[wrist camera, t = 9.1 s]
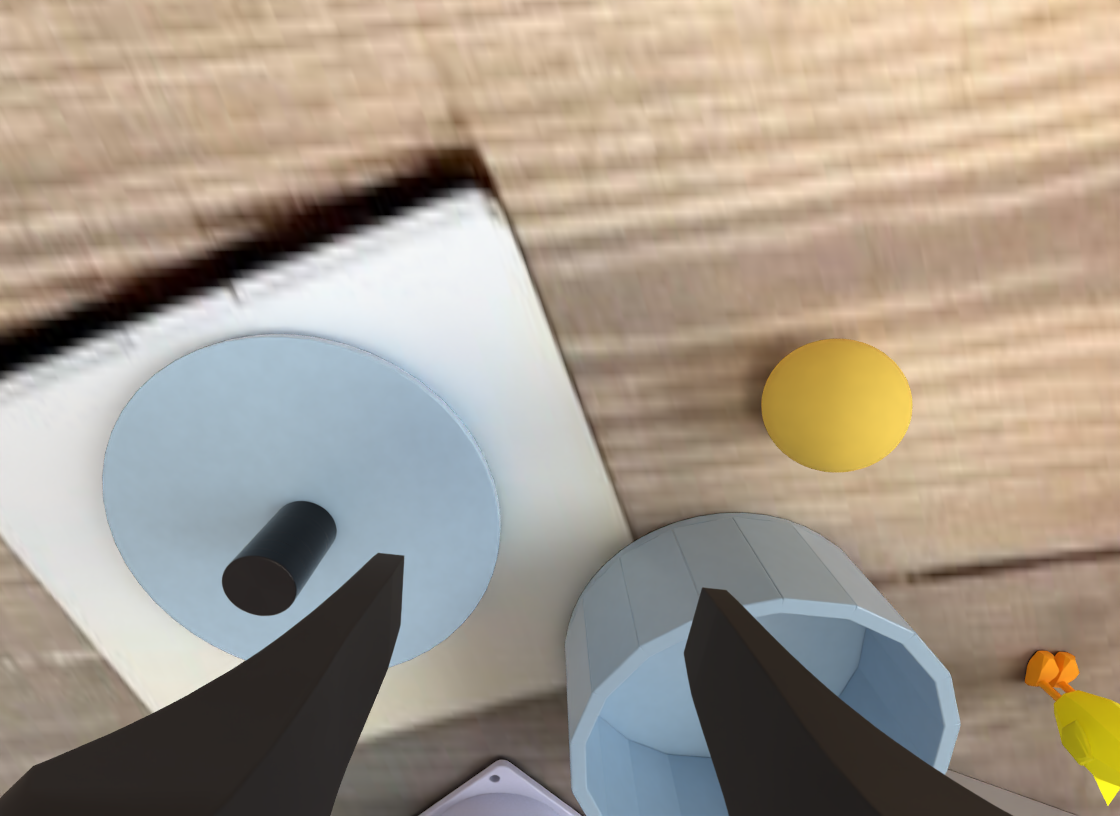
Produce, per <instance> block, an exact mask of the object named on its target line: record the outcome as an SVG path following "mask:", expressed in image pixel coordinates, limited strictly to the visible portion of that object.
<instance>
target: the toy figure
mask: <svg viewBox="0 0 1120 816" xmlns="http://www.w3.org/2000/svg"><path fill="white" fill-rule="evenodd" d="M1078 674H1079V670H1078V667H1077V664H1076V661H1075V656H1073V655H1072V654H1070V653H1068V652H1058V653H1057V654H1056V655H1055V656H1054V655H1053V654H1051V653H1050V652H1048V651H1037V652H1036V653H1035V655H1034V656H1033V657H1032V658H1031V659H1030V660H1029V663H1028V666H1027V671H1026V677H1025V683H1026V684H1027V685H1030V686H1040V687H1041V688H1042V689H1043V690H1044V691H1045V692H1046V693H1048V694H1049V695H1050V696H1051V697H1052V698H1053V699H1054V700H1055V701H1056V702H1055V703H1054V714H1055V718H1056V722H1057V726H1058V729H1059V733H1060V737H1061V741H1062V744H1063V746H1064V747H1065V748H1066V749H1067V750H1068V752H1069V753H1070V754H1071V755H1072V756H1073V758H1074V759H1075V760H1076V761H1077V762H1078V764H1080V765H1082V766H1083V765H1084V766H1085V767H1086V768H1087V769H1088V770H1089V771H1090V772H1091V773H1092V774H1093V776H1094V778H1095V780H1096V782H1097V784H1098V786H1099V788H1100V790H1101V793H1102V795H1103V797H1104V799H1105V801H1106V803H1107V805H1109V804H1110V802H1111V801H1112V799H1113V798H1114V796H1115V795H1116V794H1117V792H1118V791H1119V789H1120V704H1119V703H1116V702H1114V701H1112V700H1109V699H1106V698H1103V697H1099V696H1096V695H1093V694H1089V693H1086V692H1083V691H1079V690H1077V691H1075V690H1074V689H1073V688H1072V687H1071V686H1070V685H1069V684H1068V683H1069V682H1071V681H1072V680H1074V679H1075V678H1076V677H1077V676H1078ZM1053 687H1057V688H1061V689H1062V690H1064V691H1065V692H1066V693H1065V694H1063V695H1062V696H1061V695H1060V694H1059V693H1058V692H1057V691H1056V690H1055V689H1054V688H1053Z"/></svg>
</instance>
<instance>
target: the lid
mask: <svg viewBox="0 0 1120 816" xmlns="http://www.w3.org/2000/svg"><path fill="white" fill-rule="evenodd" d="M102 480H103V500H104V505H105V510H106V515H107V520H108V524H109V526H110V529H111V532H112V535H113V538H114V541H115V543H116V545H117V547H118V549H119V551H120V553H121V555H122V557H123V559H124V561H125V563H126V565H127V566H128V568H129V569H130V571H131V572H132V574H133V575H134V577H135V578H136V580H137V581H138V583H139V584H140V585H141V586H142V587H143V589H144V590H145V591H146V592H147V593H148V594H149V596H150V597H151V598H152V599H153V600H154V601H155V602H156V603H157V604H158V605H159V606H160V607H161V608H162V609H163V610H164V611H165V612H166V613H167V614H168V615H170V616H171V617H172V618H173V619H174V620H175V621H177V622H178V623H179V624H181V625H182V626H183V627H185V628H186V629H187V630H189V631H190V632H191V633H193V634H194V635H196V636H198V637H199V638H201V639H203V640H204V641H206V642H208V643H209V644H211V645H213V646H215V647H217V648H219V649H221V650H223V651H225V652H227V653H229V654H231V655H233V656H236V657H238V658H241V659H244V660H247V659H249V658H250V657H252V656H253V655H255V654H256V653H258V652H259V651H261V650H262V649H264V648H265V647H266V646H268V645H269V644H271V643H272V642H273V641H275V640H276V639H278V638H279V637H280V636H282V635H283V634H284V633H285V632H287V631H288V630H289V629H291V628H292V627H293V626H294V625H296V624H297V623H298V622H300V621H301V620H302V619H303V618H305V617H306V616H307V615H308V614H310V613H311V612H312V611H313V610H315V609H316V608H317V607H318V606H319V605H320V604H322V603H323V602H324V601H325V600H326V599H327V598H329V597H330V596H331V595H332V594H333V593H334V592H335V591H337V590H338V589H339V588H340V587H341V586H342V585H343V584H344V583H346V582H347V581H348V580H349V579H350V578H351V577H352V576H353V575H354V574H355V573H356V572H357V571H358V570H359V569H361V568H362V567H363V566H364V565H365V564H366V563H367V562H368V561H369V560H370V559H371V558H372V557H373V556H374V555H376V554H377V553H386V554H395V555H404V574H403V592H402V611H401V626H400V630H399V633H398V637H397V640H396V644H395V647H394V651H393V654H392V657H391V661H390V664H389V667H392V666H395V665H398V664H400V663H403V662H406V661H408V660H411V659H413V658H415V657H417V656H419V655H421V654H423V653H425V652H427V651H429V650H430V649H432V648H433V647H435V646H436V645H438V644H439V643H441V642H442V641H443V640H445V639H446V638H447V637H449V636H450V635H451V634H452V633H453V632H454V631H455V630H456V629H457V628H459V627H460V626H461V625H462V624H463V623H464V621H465V620H466V619H467V618H468V617H469V615H470V614H471V613H472V612H473V611H474V609H475V608H476V606H477V605H478V603H479V601H480V600H481V598H482V596H483V595H484V593H485V591H486V589H487V587H488V584H489V582H490V579H491V577H492V575H493V572H494V568H495V564H496V559H497V555H498V550H499V541H500V530H501V523H500V507H499V501H498V496H497V492H496V487H495V483H494V480H493V477H492V475H491V472H490V469H489V467H488V464H487V461H486V459H485V457H484V456H483V454H482V452H481V450H480V448H479V446H478V444H477V442H476V441H475V439H474V438H473V436H472V435H471V433H470V432H469V431H468V429H467V428H466V426H465V425H464V424H463V422H462V421H461V419H460V418H459V417H458V416H457V415H456V414H455V413H454V412H453V411H452V410H451V409H450V407H449V406H448V405H447V404H446V403H445V402H444V401H443V400H442V399H441V398H440V397H439V396H437V395H436V394H435V393H434V392H433V391H431V390H430V389H429V388H428V387H427V386H425V385H424V384H423V383H422V382H421V381H419V380H418V379H416V378H415V377H413V376H411V375H410V374H408V373H407V372H405V371H404V370H402V369H401V368H399V367H398V366H396V365H394V364H392V363H390V362H388V361H386V360H384V359H382V358H380V357H378V356H376V355H374V354H372V353H369V352H366V351H364V350H361V349H358V348H355V347H352V346H350V345H347V344H344V343H340V342H335V341H331V340H327V339H322V338H318V337H310V336H301V335H292V334H267V335H254V336H247V337H241V338H234V339H230V340H226V341H223V342H220V343H216V344H213V345H210V346H206V347H204V348H201V349H198V350H196V351H194V352H192V353H190V354H188V355H186V356H183V357H181V358H179V359H177V360H175V361H174V362H172V363H171V364H169V365H168V366H166V367H165V368H163V369H162V370H160V371H159V372H157V373H156V374H154V375H153V376H152V377H151V378H150V379H149V380H148V381H147V382H146V383H145V384H144V385H143V386H142V387H141V388H140V389H139V390H138V391H137V392H136V393H135V394H134V396H133V397H132V398H131V400H130V401H129V402H128V404H127V405H126V406H125V408H124V409H123V410H122V412H121V414H120V416H119V418H118V420H117V422H116V424H115V426H114V428H113V430H112V432H111V436H110V439H109V442H108V446H107V449H106V452H105V458H104V467H103V475H102ZM389 667H388V668H389Z"/></svg>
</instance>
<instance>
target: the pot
mask: <svg viewBox="0 0 1120 816" xmlns="http://www.w3.org/2000/svg"><path fill="white" fill-rule="evenodd" d="M702 587H704V588H713V589H722V590H727V591H728V592H729V593H730V594H731V595H732V596H733V597H734V598H735V599H736V600H737V601H738V602H739V603H740V604H741V605H742V606H743V607H744V608H745V609H746V610H747V611H748V612H749V613H750V614H751V615H752V616H753V617H754V618H755V619H756V620H757V621H758V622H759V623H760V624H761V625H762V626H763V627H764V628H765V629H766V630H767V631H768V632H769V633H770V634H771V635H772V636H773V637H774V638H775V639H776V640H777V641H778V642H779V643H780V644H781V645H782V646H783V647H784V648H785V649H786V650H787V651H788V652H789V653H790V654H791V655H792V656H793V657H794V658H795V659H797V660H798V661H799V662H800V663H801V664H802V665H803V666H804V667H805V668H806V669H807V670H808V671H809V672H811V673H812V674H813V675H814V676H815V677H816V678H817V679H818V680H819V681H821V682H822V683H823V684H824V685H825V686H826V687H827V688H828V689H830V690H831V691H832V692H833V693H834V694H835V695H837V696H838V697H839V698H840V699H841V700H843V701H844V702H845V703H846V704H847V705H849V706H850V707H851V708H852V709H854V710H855V711H856V712H858V713H859V714H860V715H861V716H863V717H864V718H865V719H866V720H868V721H869V722H870V723H871V724H873V725H874V726H875V727H877V728H878V729H879V730H881V731H882V732H883V733H885V734H886V735H887V736H889V737H890V738H892V739H893V740H894V741H896V742H897V743H899V744H900V745H902V746H903V747H904V748H906V749H907V750H909V751H910V752H912V753H913V754H914V755H916V756H917V757H919V758H920V759H922V760H923V761H924V762H926V763H927V764H929V765H931V766H932V767H934V768H935V769H937V770H938V771H940V772H941V773H943V774H944V775H945V773H946V772H947V770H948V766H949V763H950V759H951V756H952V753H953V749H954V746H955V742H956V739H957V735H958V732H959V729H960V725H961V724H960V718H959V713H958V708H957V703H956V698H955V693H954V688H953V683H952V678H951V675H950V673H949V671H948V670H947V669H946V668H945V666H944V665H943V664H942V663H941V662H940V661H939V659H938V658H937V657H936V656H935V655H934V654H933V652H932V651H931V650H930V649H929V648H928V647H927V645H926V644H925V643H924V642H923V641H922V639H921V638H920V637H919V636H918V635H917V634H916V632H915V631H914V630H913V629H912V628H911V627H910V626H909V625H908V624H907V622H906V621H905V620H904V619H903V618H902V617H901V616H900V615H899V613H898V612H897V611H896V610H895V609H894V608H893V607H892V606H891V605H890V603H889V602H888V601H887V600H886V599H885V598H884V597H883V596H882V595H881V593H880V592H879V591H878V590H877V589H876V588H875V587H874V586H873V584H872V583H871V582H870V581H869V580H868V579H867V578H866V577H865V576H864V574H863V573H862V572H861V571H860V570H859V569H858V568H857V567H856V566H855V564H854V563H853V562H852V561H851V560H850V559H849V558H848V557H847V555H846V554H845V553H844V552H843V551H842V550H841V549H840V548H839V547H838V546H836V545H834V544H833V543H831V542H830V541H829V540H827V539H826V538H824V537H823V536H822V535H820V534H818V533H816V532H814V531H812V530H811V529H809V528H807V527H805V526H802V525H800V524H797V523H794V522H791V521H788V520H786V519H782V518H777V517H773V516H768V515H763V514H752V513H719V514H712V515H705V516H698V517H694V518H690V519H686V520H682V521H679V522H676V523H673V524H670V525H668V526H665V527H662V528H660V529H657V530H655V531H653V532H651V533H649V534H647V535H645V536H643V537H641V538H639V539H638V540H636V541H635V542H633V543H632V544H630V545H629V546H627V547H626V548H624V549H623V550H621V551H620V552H619V553H617V554H616V555H615V556H614V557H613V558H612V559H610V560H609V561H608V562H607V563H606V564H605V565H604V566H603V567H602V568H601V569H600V570H599V571H598V572H597V574H596V575H595V576H594V577H593V578H592V579H591V581H590V582H589V584H588V585H587V587H586V588H585V589H584V591H583V592H582V594H581V596H580V598H579V600H578V602H577V604H576V606H575V608H574V610H573V613H572V616H571V619H570V622H569V625H568V630H567V637H566V639H565V654H566V678H567V702H568V725H569V749H570V771H571V789H572V792H573V794H574V796H575V798H576V799H577V801H578V803H579V804H580V806H581V808H582V810H583V811H584V813H585V815H586V816H729V814H728V811H727V807H726V804H725V800H724V796H723V793H722V790H721V787H720V784H719V781H718V778H717V774H716V771H715V768H714V765H713V762H712V759H711V756H710V753H709V750H708V747H707V743H706V740H705V737H704V734H703V731H702V728H701V725H700V722H699V718H698V715H697V712H696V709H695V706H694V702H693V699H692V696H691V691H690V686H689V681H688V676H687V670H686V665H685V659H684V649H685V646H686V642H687V639H688V635H689V632H690V628H691V625H692V621H693V618H694V614H695V611H696V607H697V604H698V600H699V597H700V593H701V589H702Z"/></svg>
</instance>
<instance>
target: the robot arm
mask: <svg viewBox="0 0 1120 816" xmlns="http://www.w3.org/2000/svg"><path fill="white" fill-rule="evenodd" d="M403 574H404V555H395V554H386V553H377V554H376V555H374V556H373V557H372V558H371V559H370V560H369V561H368V562H367V563H366V564H365V565H364V566H363V567H362V568H361V569H359V570H358V571H357V572H356V573H355V574H354V575H353V576H352V577H351V578H350V579H349V580H348V581H347V582H346V583H344V584H343V585H342V586H341V587H340V588H339V589H338V590H337V591H335V592H334V593H333V594H332V595H331V596H330V597H329V598H327V599H326V600H325V601H324V602H323V603H322V604H320V605H319V606H318V607H317V608H316V609H315V610H313V611H312V612H311V613H310V614H308V615H307V616H306V617H305V618H303V619H302V620H301V621H300V622H298V623H297V624H296V625H294V626H293V627H292V628H291V629H289V630H288V631H287V632H285V633H284V634H283V635H282V636H280V637H279V638H278V639H276V640H275V641H273V642H272V643H271V644H269V645H268V646H266V647H265V648H264V649H262V650H261V651H259V652H258V653H256V654H255V655H253V656H252V657H250V658H249V659H247V660H246V661H244V662H243V663H241V664H240V665H238V666H237V667H235V668H234V669H232V670H230V671H229V672H227V673H225V674H223V675H222V676H220V677H218V678H216V679H215V680H213V681H211V682H210V683H208V684H206V685H204V686H203V687H201V688H199V689H197V690H196V691H194V692H192V693H191V694H189V695H187V696H185V697H183V698H182V699H180V700H178V701H176V702H174V703H172V704H170V705H168V706H166V707H164V708H162V709H160V710H158V711H156V712H155V713H152V714H150V715H148V716H146V717H144V718H142V719H140V720H138V721H136V722H134V723H132V724H130V725H128V726H126V727H124V728H121V729H119V730H117V731H115V732H113V733H111V734H108V735H106V736H104V737H101V738H99V739H97V740H94V741H92V742H90V743H87V744H85V745H83V746H80V747H78V748H76V749H73V750H71V751H69V752H66V753H64V754H62V755H59V756H57V757H55V758H52V759H50V760H47V761H45V762H42V763H40V764H37V765H35V766H33V767H32V768H31V769H30V770H29V771H28V772H27V773H26V774H25V775H24V776H22V777H21V778H20V779H19V780H18V781H17V782H16V783H15V784H14V785H13V786H12V787H11V788H10V789H9V790H8V791H7V792H6V793H5V794H4V795H3V796H2V797H1V798H0V816H330V815H331V811H332V808H333V805H334V802H335V799H336V796H337V793H338V790H339V787H340V784H341V781H342V779H343V776H344V774H345V771H346V768H347V766H348V763H349V761H350V758H351V756H352V754H353V751H354V749H355V746H356V744H357V742H358V739H359V737H360V735H361V732H362V730H363V727H364V725H365V723H366V720H367V718H368V715H369V713H370V711H371V708H372V706H373V704H374V701H375V699H376V696H377V694H378V692H379V689H380V687H381V684H382V682H383V679H384V677H385V675H386V672H387V670H388V667H389V664H390V661H391V657H392V654H393V651H394V647H395V644H396V640H397V637H398V633H399V630H400V626H401V611H402V592H403ZM684 659H685V665H686V670H687V676H688V681H689V686H690V691H691V696H692V699H693V702H694V706H695V709H696V712H697V715H698V718H699V722H700V725H701V728H702V731H703V734H704V737H705V740H706V743H707V747H708V750H709V753H710V756H711V759H712V762H713V765H714V768H715V771H716V774H717V778H718V781H719V784H720V787H721V790H722V793H723V796H724V800H725V804H726V807H727V811H728V814H729V816H1013V815H1011V814H1009V813H1008V812H1006V811H1004V810H1002V809H1000V808H998V807H997V806H995V805H993V804H992V803H990V802H988V801H986V800H985V799H983V798H982V797H980V796H978V795H977V794H975V793H973V792H972V791H970V790H968V789H967V788H965V787H964V786H962V785H960V784H959V783H957V782H955V781H954V780H952V779H951V778H949V777H947V776H946V775H944V774H943V773H941V772H940V771H938V770H937V769H935V768H934V767H932V766H931V765H929V764H927V763H926V762H924V761H923V760H922V759H920V758H919V757H917V756H916V755H914V754H913V753H912V752H910V751H909V750H907V749H906V748H904V747H903V746H902V745H900V744H899V743H897V742H896V741H894V740H893V739H892V738H890V737H889V736H887V735H886V734H885V733H883V732H882V731H881V730H879V729H878V728H877V727H875V726H874V725H873V724H871V723H870V722H869V721H868V720H866V719H865V718H864V717H863V716H861V715H860V714H859V713H858V712H856V711H855V710H854V709H852V708H851V707H850V706H849V705H847V704H846V703H845V702H844V701H843V700H841V699H840V698H839V697H838V696H837V695H835V694H834V693H833V692H832V691H831V690H830V689H828V688H827V687H826V686H825V685H824V684H823V683H822V682H821V681H819V680H818V679H817V678H816V677H815V676H814V675H813V674H812V673H811V672H809V671H808V670H807V669H806V668H805V667H804V666H803V665H802V664H801V663H800V662H799V661H798V660H797V659H795V658H794V657H793V656H792V655H791V654H790V653H789V652H788V651H787V650H786V649H785V648H784V647H783V646H782V645H781V644H780V643H779V642H778V641H777V640H776V639H775V638H774V637H773V636H772V635H771V634H770V633H769V632H768V631H767V630H766V629H765V628H764V627H763V626H762V625H761V624H760V623H759V622H758V621H757V620H756V619H755V618H754V617H753V616H752V615H751V614H750V613H749V612H748V611H747V610H746V609H745V608H744V607H743V606H742V605H741V604H740V603H739V602H738V601H737V600H736V599H735V598H734V597H733V596H732V595H731V594H730V593H729V592H728V591H727V590H722V589H713V588H704V587H702V589H701V593H700V597H699V600H698V604H697V607H696V611H695V614H694V618H693V621H692V625H691V628H690V632H689V635H688V639H687V642H686V646H685V649H684ZM418 816H582V815H580V814H579V813H578V812H576V811H575V810H574V809H572V808H571V807H570V806H568V805H567V804H566V803H564V802H563V801H562V800H560V799H559V798H557V797H556V796H555V795H553V794H552V793H551V792H549V791H548V790H547V789H545V788H544V787H543V786H541V785H540V784H539V783H537V782H536V781H534V780H533V779H532V778H530V777H529V776H528V775H526V774H525V773H524V772H522V771H521V770H520V769H518V768H517V767H516V766H514V765H513V764H512V763H510V762H509V761H507V760H498V761H496V762H494V763H493V764H491V765H490V766H489V767H487V768H486V769H484V770H483V771H481V772H480V773H479V774H477V775H476V776H474V777H473V778H471V779H470V780H469V781H467V782H466V783H464V784H463V785H461V786H460V787H459V788H457V789H456V790H454V791H453V792H451V793H450V794H448V795H447V796H446V797H444V798H443V799H441V800H440V801H438V802H437V803H436V804H434V805H433V806H431V807H430V808H428V809H427V810H426V811H424V812H423V813H421V814H420V815H418Z"/></svg>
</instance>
